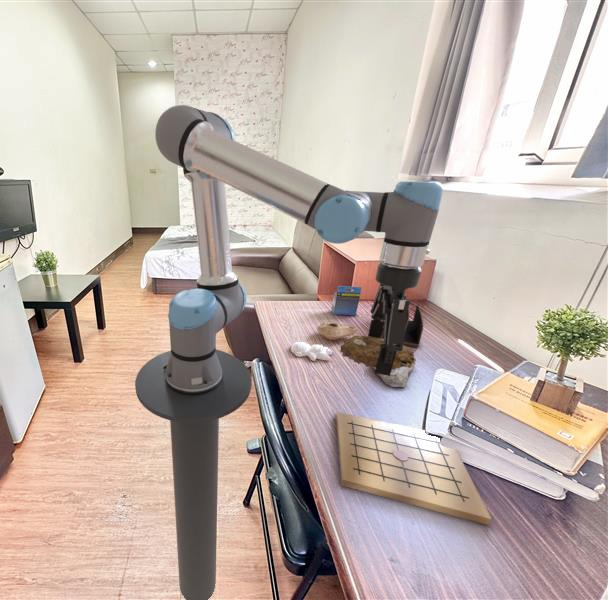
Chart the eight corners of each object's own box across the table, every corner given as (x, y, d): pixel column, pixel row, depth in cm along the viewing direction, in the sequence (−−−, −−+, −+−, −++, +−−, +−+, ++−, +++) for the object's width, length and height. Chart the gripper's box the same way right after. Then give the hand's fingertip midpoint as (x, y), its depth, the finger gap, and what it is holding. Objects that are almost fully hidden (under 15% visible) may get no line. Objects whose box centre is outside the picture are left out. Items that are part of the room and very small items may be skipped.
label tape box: (353, 311, 127) (358, 283, 122) (356, 316, 123) (362, 287, 118) (330, 310, 128) (335, 282, 123) (333, 315, 124) (338, 286, 119)
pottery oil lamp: (360, 343, 102) (358, 329, 98) (322, 349, 106) (319, 336, 102) (353, 323, 109) (351, 310, 105) (318, 330, 113) (314, 317, 108)
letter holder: (383, 341, 105) (393, 302, 99) (384, 318, 121) (392, 284, 116) (418, 348, 100) (430, 308, 95) (413, 324, 116) (423, 289, 111)
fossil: (380, 352, 98) (381, 343, 97) (416, 362, 92) (418, 353, 91) (362, 378, 86) (364, 369, 85) (403, 392, 80) (405, 382, 79)
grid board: (341, 485, 56) (342, 479, 55) (335, 416, 72) (337, 411, 71) (488, 525, 49) (492, 518, 49) (447, 440, 65) (449, 434, 65)
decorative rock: (399, 349, 74) (334, 347, 76) (402, 334, 73) (336, 331, 75) (425, 376, 63) (349, 372, 65) (429, 358, 62) (351, 355, 64)
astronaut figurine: (327, 365, 91) (328, 356, 90) (287, 353, 97) (288, 345, 96) (333, 352, 98) (334, 343, 97) (295, 342, 104) (296, 334, 103)
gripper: (444, 285, 50) (410, 394, 58) (405, 252, 71) (384, 336, 79) (392, 280, 52) (366, 387, 60) (369, 250, 73) (352, 332, 81)
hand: (376, 358), depth 70 cm, fingers closed on decorative rock, 11 cm apart
